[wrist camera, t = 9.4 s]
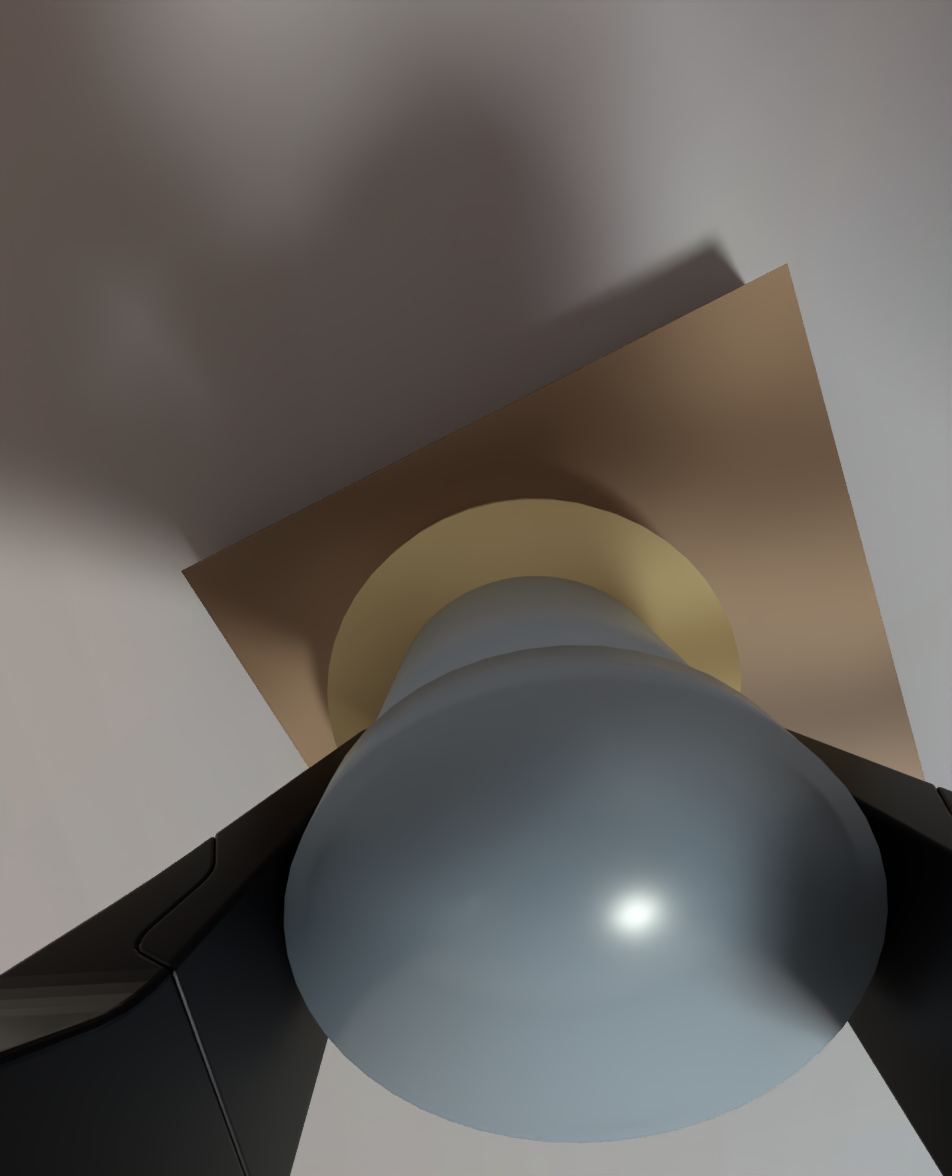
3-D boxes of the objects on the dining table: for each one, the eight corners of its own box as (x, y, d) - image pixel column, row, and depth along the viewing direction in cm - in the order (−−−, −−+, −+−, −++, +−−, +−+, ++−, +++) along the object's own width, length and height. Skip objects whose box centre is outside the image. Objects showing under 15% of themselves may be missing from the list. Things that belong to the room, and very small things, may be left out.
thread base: (924, 895, 13) (1007, 974, 11) (505, 1026, 15) (508, 1117, 13) (750, 289, 9) (826, 235, 7) (212, 560, 11) (148, 581, 9)
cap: (562, 874, 11) (623, 1205, 6) (333, 741, 10) (187, 997, 5) (744, 676, 9) (1025, 895, 4) (495, 503, 9) (504, 539, 4)
